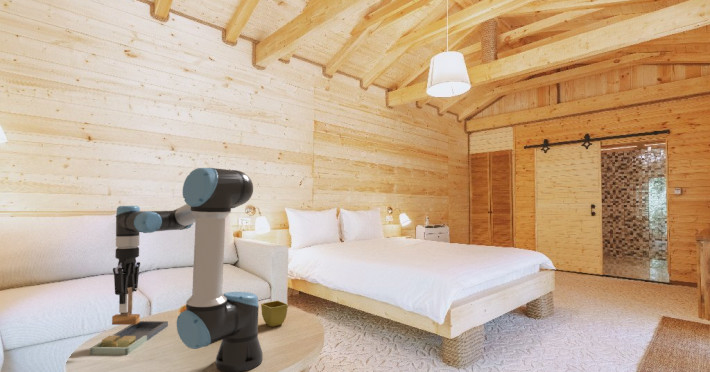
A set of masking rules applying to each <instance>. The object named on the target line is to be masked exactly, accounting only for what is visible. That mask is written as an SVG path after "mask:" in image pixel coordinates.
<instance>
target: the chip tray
mask: <svg viewBox="0 0 710 372" xmlns="http://www.w3.org/2000/svg"><path fill="white" fill-rule="evenodd" d="M111 336H115V335H114V334H112V335H111ZM146 342H148V341H147V336H143V337H141V338H140V339H138V340H137V341H135V342H134V343H132V344H131V345H129V346H128V347H102V341H100V342H99V343H96V344H94V346H91V347H90V348H89V355H129V354H131V353H132V352H133V351H135V350H136V349H138V348H139V347H141V346H142V345H143V344H145V343H146Z"/></svg>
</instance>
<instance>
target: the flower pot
mask: <svg viewBox="0 0 710 372" xmlns="http://www.w3.org/2000/svg"><path fill="white" fill-rule="evenodd" d="M260 305H261V306H260V309H261V315H262V318H263V322H264V323H265V324H266V325H267V326H270V327H271V328H273V327H277V326H281V325H283V323H285V320H286V317H287V313H288V307H289V304H288V303H286V302H283V301H281V300H273V301H268V302H264V303H260Z"/></svg>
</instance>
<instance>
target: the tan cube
mask: <svg viewBox="0 0 710 372" xmlns="http://www.w3.org/2000/svg"><path fill="white" fill-rule="evenodd" d="M119 339H120V336H112V335H109V336H106V337H105V338H102V339H101V342H102V347H118V340H119Z"/></svg>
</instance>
